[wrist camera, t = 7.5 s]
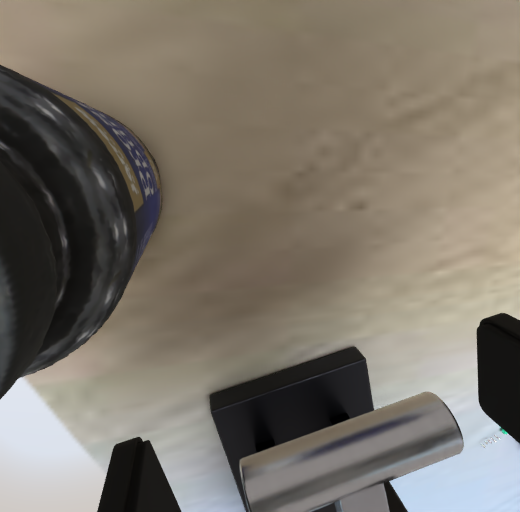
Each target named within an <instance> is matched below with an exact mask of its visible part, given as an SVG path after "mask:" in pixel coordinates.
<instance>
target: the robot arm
mask: <svg viewBox="0 0 520 512" xmlns="http://www.w3.org/2000/svg"><path fill="white" fill-rule="evenodd" d="M477 360H478V396H479V404H480V406H481V408H482V410H483V411H484V412H485V413H486V414H487V415H488V416H489V417H490V418H491V419H492V420H493V421H495V422H496V423H497V424H498V425H499V426H500V427H501V428H503V429H504V430H505V431H506V432H507V433H508V434H509V435H511V436H512V437H513V438H514V439H515V440H516V441H517V442H519V443H520V320H518V319H516V318H514V317H512V316H510V315H508V314H505V313H500V314H497V315H494V316H491V317H488V318H485V319H483V320H481V322H480V326H479V327H478V328H477ZM97 512H181V510H180V507H179V505H178V503H177V501H176V498H175V496H174V494H173V492H172V489H171V487H170V485H169V483H168V480H167V478H166V476H165V474H164V472H163V469H162V467H161V465H160V463H159V460H158V458H157V456H156V454H155V451H154V449H153V447H152V445H151V443H150V441H149V440H147V441H144V442H143V441H142V439H141V438H140V437H136V438H133V439H130V440H127V441H124V442H122V443H119V444H116V445H115V446H114V449H113V452H112V456H111V460H110V464H109V468H108V472H107V476H106V479H105V484H104V487H103V491H102V495H101V499H100V503H99V507H98V511H97Z"/></svg>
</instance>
